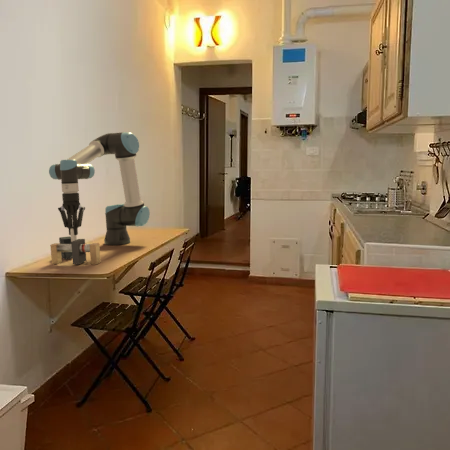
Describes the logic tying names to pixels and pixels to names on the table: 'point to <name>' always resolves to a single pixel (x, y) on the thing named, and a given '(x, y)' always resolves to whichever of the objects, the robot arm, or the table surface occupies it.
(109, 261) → the table surface
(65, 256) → the box
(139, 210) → the robot arm
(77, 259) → the collar
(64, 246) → the pipe
